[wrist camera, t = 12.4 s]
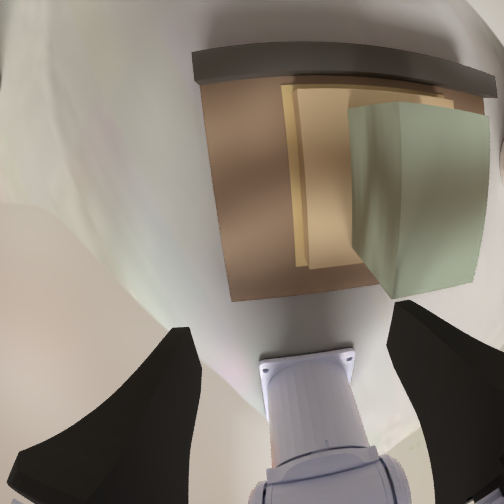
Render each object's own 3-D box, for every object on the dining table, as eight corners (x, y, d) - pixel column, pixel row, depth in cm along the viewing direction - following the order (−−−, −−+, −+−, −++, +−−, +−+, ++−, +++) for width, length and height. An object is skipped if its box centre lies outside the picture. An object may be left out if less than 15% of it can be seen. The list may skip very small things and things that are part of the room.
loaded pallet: (435, 241, 16) (497, 292, 10) (304, 257, 16) (333, 329, 10) (438, 101, 12) (517, 102, 6) (291, 93, 13) (325, 66, 7)
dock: (458, 256, 19) (483, 276, 16) (233, 285, 19) (230, 316, 16) (463, 78, 13) (494, 76, 10) (202, 67, 14) (191, 52, 10)
